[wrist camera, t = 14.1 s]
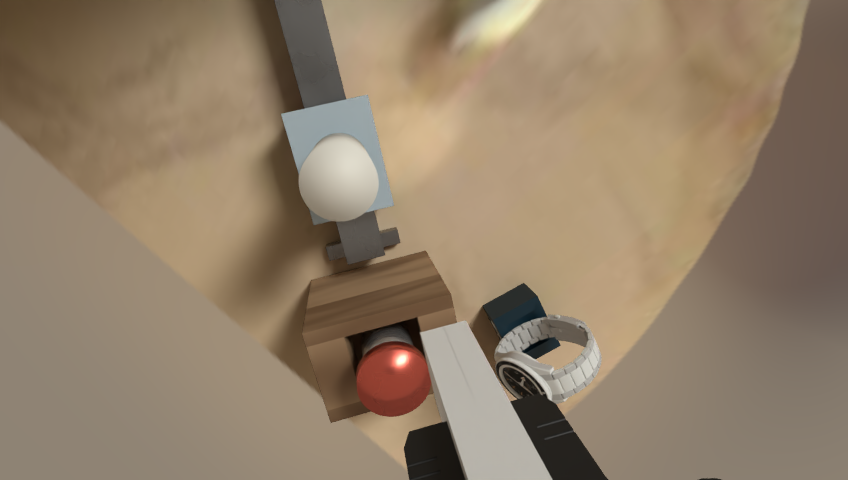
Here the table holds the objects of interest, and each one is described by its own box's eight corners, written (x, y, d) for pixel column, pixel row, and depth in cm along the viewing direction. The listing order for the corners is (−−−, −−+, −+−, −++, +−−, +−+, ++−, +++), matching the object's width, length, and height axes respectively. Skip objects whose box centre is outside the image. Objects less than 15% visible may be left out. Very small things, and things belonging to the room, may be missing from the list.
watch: (463, 316, 44) (502, 382, 33) (540, 273, 44) (603, 326, 33) (488, 362, 45) (533, 439, 35) (562, 321, 45) (629, 385, 35)
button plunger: (347, 318, 34) (348, 362, 28) (409, 301, 35) (422, 341, 29) (362, 372, 36) (367, 425, 30) (422, 356, 36) (437, 404, 30)
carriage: (286, 113, 35) (255, 116, 23) (365, 95, 36) (377, 89, 23) (316, 215, 38) (303, 270, 25) (390, 197, 38) (413, 242, 26)
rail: (246, -31, 33) (237, -44, 31) (330, -48, 34) (329, -61, 31) (329, 257, 40) (329, 269, 37) (399, 240, 41) (403, 250, 38)
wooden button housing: (311, 280, 40) (301, 333, 31) (425, 250, 41) (450, 294, 32) (333, 351, 42) (330, 422, 33) (441, 322, 43) (469, 382, 34)
